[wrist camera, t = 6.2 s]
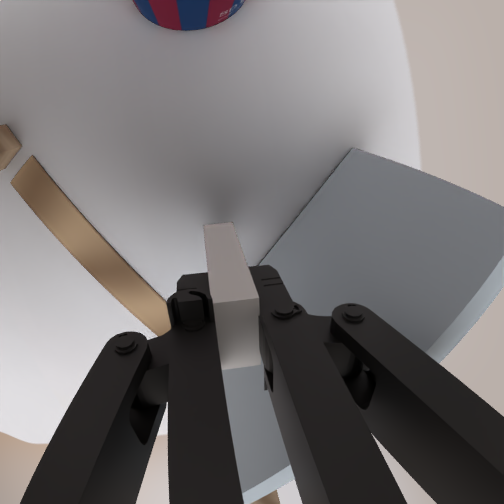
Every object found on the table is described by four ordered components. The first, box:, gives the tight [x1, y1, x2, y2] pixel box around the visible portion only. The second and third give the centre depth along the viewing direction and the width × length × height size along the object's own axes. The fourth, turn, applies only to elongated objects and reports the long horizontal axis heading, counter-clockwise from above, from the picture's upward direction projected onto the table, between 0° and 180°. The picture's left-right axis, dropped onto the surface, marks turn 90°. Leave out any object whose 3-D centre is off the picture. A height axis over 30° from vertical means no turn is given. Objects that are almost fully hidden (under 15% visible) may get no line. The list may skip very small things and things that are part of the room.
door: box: [222, 148, 504, 504], centre depth 15 cm, size 16×3×13 cm, turn 142°
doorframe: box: [0, 125, 280, 504], centre depth 13 cm, size 26×2×15 cm, turn 35°
